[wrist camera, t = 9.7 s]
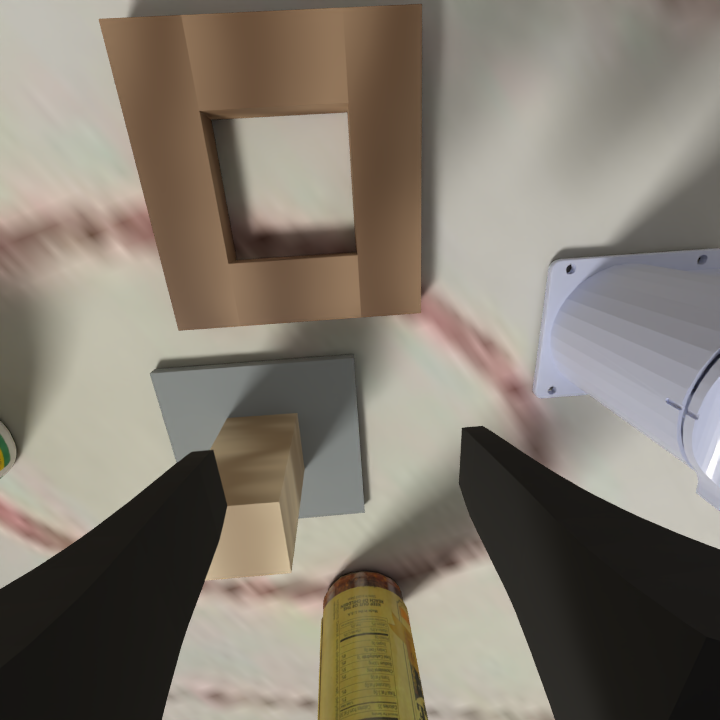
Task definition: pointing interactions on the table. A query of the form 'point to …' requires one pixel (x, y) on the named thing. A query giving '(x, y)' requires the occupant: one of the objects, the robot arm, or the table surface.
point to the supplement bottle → (6, 450)
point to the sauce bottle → (368, 653)
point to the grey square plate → (270, 397)
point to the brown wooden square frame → (265, 99)
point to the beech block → (258, 495)
